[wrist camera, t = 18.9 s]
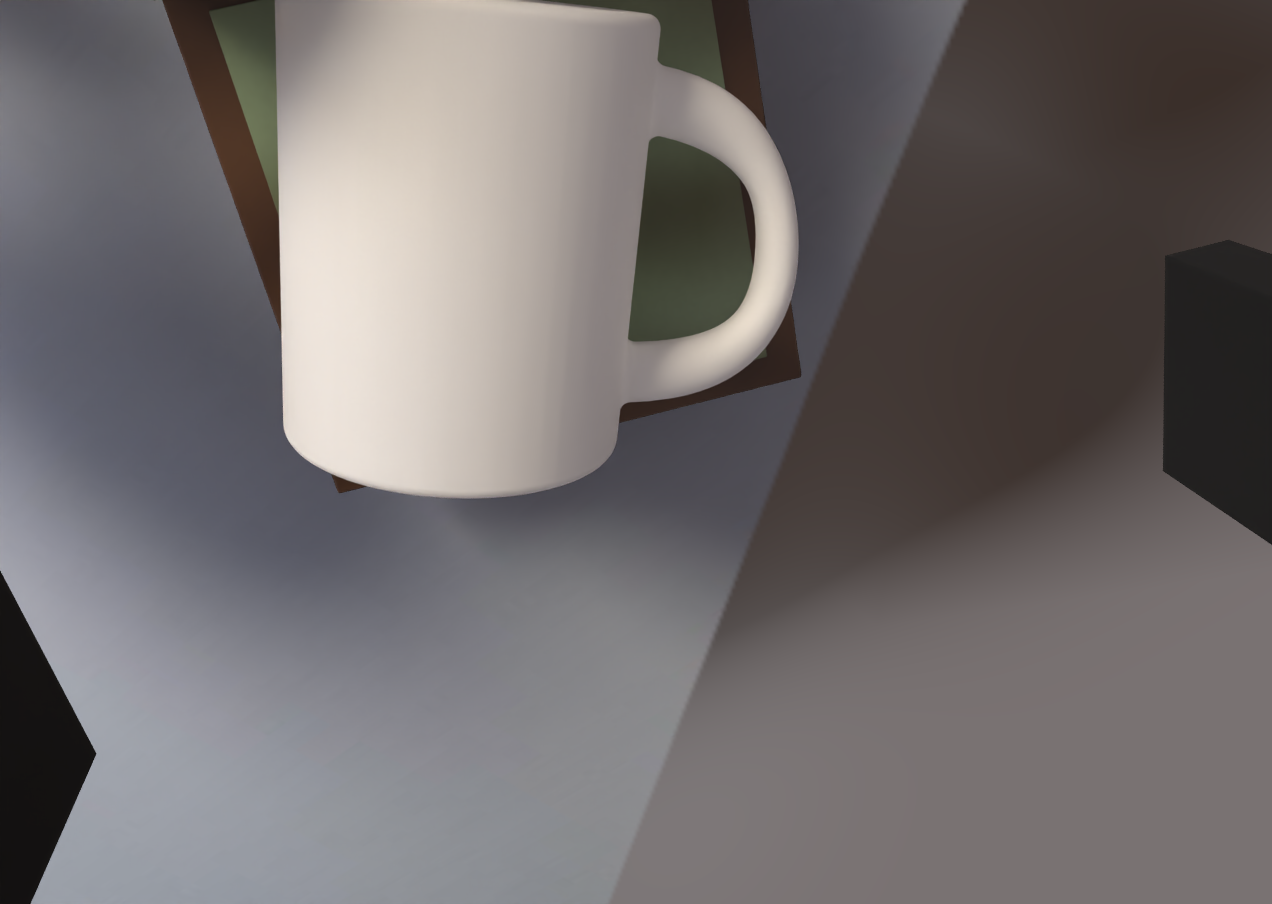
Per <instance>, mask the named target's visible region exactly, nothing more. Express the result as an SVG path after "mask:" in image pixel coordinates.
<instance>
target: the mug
mask: <svg viewBox="0 0 1272 904" xmlns="http://www.w3.org/2000/svg"><path fill="white" fill-rule="evenodd" d="M660 31H661V27H660V23H659V21H658V19H657V18H656V17H655V16H653V15H651V14H647V13H641V12H633V11H626V10H618V9H610V8H602V7H593V6H585V5H577V4H568V3H560V2H551V1H543V0H275V34H276V84H277V134H278V184H279V234H280V284H281V334H282V384H283V424H284V431H285V434H286V437H287V439H288V440H289V442H290V444H291V445H292V446H293V448H294V449H295V450H296V451H297V452H298V453H299V454H300V455H301V456H303V457H304V458H305V459H306V460H308V461H309V462H311V463H312V464H314V465H315V466H317V467H319V468H320V469H322V470H324V471H326V472H328V473H331V474H333V475H335V476H337V477H340V478H343V479H345V480H348V481H351V482H354V483H357V484H361V485H364V486H368V487H372V488H376V489H380V490H385V491H390V492H395V493H401V494H408V495H416V496H424V497H436V498H456V499H476V498H497V497H508V496H516V495H523V494H529V493H535V492H540V491H544V490H549V489H552V488H556V487H559V486H562V485H565V484H568V483H571V482H573V481H576V480H578V479H580V478H583V477H584V476H586V475H588V474H590V473H592V472H593V471H594V470H596V469H597V468H599V467H600V466H601V465H602V464H603V463H604V462H605V461H606V460H607V459H608V458H609V457H610V455H611V454H612V452H613V450H614V448H615V445H616V442H617V434H618V425H619V416H620V409H621V407H622V406H623V405H624V404H626V403H628V402H643V401H654V400H662V399H670V398H675V397H680V396H685V395H689V394H693V393H696V392H699V391H702V390H705V389H708V388H710V387H713V386H715V385H717V384H720V383H722V382H724V381H726V380H727V379H729V378H731V377H732V376H734V375H735V374H737V373H739V372H740V371H741V370H743V369H744V368H745V367H746V366H748V365H749V364H750V363H751V362H752V361H753V360H754V359H755V358H756V357H757V356H758V355H759V354H760V353H761V352H762V351H763V350H764V349H765V347H766V346H767V345H768V344H769V342H770V341H771V339H772V338H773V336H774V335H775V333H776V332H777V330H778V328H779V326H780V325H781V323H782V321H783V319H784V316H785V314H786V312H787V309H788V307H789V304H790V301H791V298H792V294H793V290H794V286H795V281H796V275H797V268H798V254H799V235H798V221H797V213H796V207H795V201H794V196H793V192H792V188H791V184H790V181H789V177H788V174H787V171H786V168H785V166H784V163H783V161H782V158H781V156H780V154H779V151H778V149H777V147H776V145H775V144H774V142H773V140H772V138H771V137H770V135H769V133H768V132H767V130H766V129H765V127H764V126H763V125H762V123H761V122H760V121H759V120H758V118H757V117H756V116H755V115H754V114H753V113H752V111H751V110H750V109H748V108H747V107H746V106H745V105H744V104H743V103H742V102H741V101H740V100H739V99H737V98H736V97H735V96H733V95H732V94H731V93H729V92H728V91H726V90H725V89H723V88H721V87H720V86H718V85H716V84H714V83H712V82H710V81H708V80H705V79H703V78H701V77H699V76H696V75H693V74H690V73H687V72H685V71H682V70H679V69H675V68H671V67H667V66H663V65H661V64H660V63H659V62H658V60H657V59H658V49H659V39H660ZM657 136H661V137H665V138H669V139H672V140H676V141H679V142H682V143H685V144H688V145H691V146H693V147H696V148H698V149H700V150H702V151H704V152H706V153H708V154H710V155H712V156H713V157H715V158H717V159H718V160H720V161H721V162H723V163H724V164H725V165H726V166H728V167H729V168H730V169H731V170H732V171H733V172H734V173H735V174H736V175H737V176H738V177H739V178H740V180H741V181H742V182H743V184H744V185H745V187H746V189H747V191H748V193H749V196H750V198H751V202H752V206H753V211H754V217H755V232H756V241H755V258H754V266H753V272H752V277H751V281H750V285H749V288H748V291H747V294H746V296H745V298H744V300H743V302H742V304H741V305H740V307H739V308H738V310H737V311H736V312H735V313H734V314H733V315H732V316H731V317H730V318H729V319H728V320H726V321H725V322H724V323H722V324H720V325H718V326H717V327H715V328H712V329H710V330H707V331H705V332H702V333H699V334H695V335H691V336H687V337H681V338H675V339H668V340H659V341H641V342H633V341H630V340H629V339H628V331H629V322H630V312H631V303H632V294H633V284H634V275H635V265H636V256H637V247H638V237H639V228H640V219H641V209H642V200H643V190H644V181H645V172H646V162H647V153H648V144H649V141H650V140H651V139H652V138H654V137H657Z"/></svg>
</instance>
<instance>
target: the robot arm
mask: <svg viewBox="0 0 1272 904" xmlns="http://www.w3.org/2000/svg"><path fill="white" fill-rule="evenodd" d="M1164 343H1165V346H1164V438H1163V445H1164V447H1163V471H1164V472H1165V473H1167V474H1169V475H1170V476H1171V477H1173V478H1174V479H1176V480H1177V481H1179V482H1180V483H1182V484H1183V485H1185V486H1186V487H1187V488H1189V489H1190V490H1192V491H1194V492H1195V493H1196V494H1198V495H1199V496H1201V497H1202V498H1204V499H1205V500H1207V501H1208V502H1210V503H1211V504H1213V505H1214V506H1215V507H1217V508H1218V509H1220V510H1222V511H1223V512H1224V513H1226V514H1228V515H1229V516H1230V517H1232V518H1233V519H1235V520H1236V521H1238V522H1239V523H1241V524H1242V525H1244V526H1245V527H1246V528H1248V529H1249V530H1251V531H1253V532H1254V533H1255V534H1257V535H1258V536H1260V537H1261V538H1263V539H1264V540H1266V541H1267V542H1269V543H1270V544H1272V254H1270V253H1266V252H1263V251H1260V250H1257V249H1254V248H1251V247H1248V246H1245V245H1242V244H1239V243H1236V242H1233V241H1230V240H1226V241H1223V242H1218V243H1214V244H1210V245H1207V246H1203V247H1198V248H1195V249H1191V250H1187V251H1183V252H1179V253H1175V254H1171V255H1167V256H1165V342H1164ZM95 756H96V752H95V750H94V748H93V746H92V744H91V742H90V741H89V739H88V737H87V735H86V733H85V731H84V729H83V727H82V725H81V723H80V722H79V720H78V718H77V716H76V714H75V712H74V710H73V708H72V706H71V704H70V703H69V701H68V699H67V697H66V695H65V693H64V691H63V689H62V687H61V685H60V683H59V682H58V680H57V678H56V676H55V674H54V672H53V670H52V668H51V666H50V664H49V663H48V661H47V659H46V657H45V655H44V653H43V651H42V649H41V647H40V645H39V644H38V642H37V640H36V638H35V636H34V634H33V632H32V630H31V628H30V626H29V624H28V623H27V621H26V619H25V617H24V615H23V613H22V611H21V609H20V607H19V605H18V604H17V602H16V600H15V598H14V596H13V594H12V592H11V590H10V588H9V586H8V584H7V583H6V581H5V579H4V577H3V575H2V573H1V571H0V904H31V901H32V899H33V897H34V895H35V892H36V890H37V888H38V885H39V883H40V881H41V879H42V876H43V874H44V872H45V869H46V867H47V865H48V863H49V860H50V858H51V856H52V854H53V851H54V849H55V847H56V844H57V842H58V840H59V838H60V835H61V833H62V831H63V829H64V826H65V824H66V822H67V819H68V817H69V815H70V813H71V810H72V808H73V806H74V804H75V801H76V799H77V797H78V794H79V792H80V790H81V788H82V785H83V783H84V781H85V779H86V776H87V774H88V772H89V769H90V767H91V765H92V763H93V760H94V758H95Z"/></svg>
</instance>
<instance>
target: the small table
mask: <svg viewBox="0 0 1272 904" xmlns="http://www.w3.org/2000/svg"><path fill="white" fill-rule="evenodd" d="M162 1H163V4H164V7H165V10H166V12H167V15H168V18H169V21H170V24H171V26H172V29H173V32H174V35H175V38H176V40H177V43H178V46H179V49H180V52H181V54H182V57H183V60H184V63H185V66H186V68H187V71H188V74H189V77H190V80H191V82H192V85H193V88H194V91H195V94H196V96H197V99H198V102H199V105H200V108H201V110H202V113H203V116H204V119H205V122H206V124H207V127H208V130H209V133H210V136H211V138H212V141H213V144H214V147H215V150H216V152H217V155H218V158H219V161H220V164H221V166H222V169H223V172H224V175H225V178H226V180H227V183H228V186H229V189H230V192H231V194H232V197H233V200H234V203H235V206H236V209H237V211H238V214H239V217H240V220H241V223H242V225H243V228H244V231H245V234H246V237H247V239H248V242H249V245H250V248H251V251H252V253H253V256H254V259H255V262H256V265H257V267H258V270H259V273H260V276H261V279H262V281H263V284H264V287H265V290H266V293H267V295H268V298H269V301H270V304H271V307H272V309H273V312H274V315H275V318H276V321H277V323H278V326H279V329H280V332H281V284H280V234H279V184H278V134H277V84H276V34H275V0H162ZM543 1H551V2H560V3H568V4H577V5H585V6H593V7H602V8H610V9H618V10H626V11H633V12H641V13H647V14H651V15H653V16H655V17H656V18H657V19H658V21H659V23H660V27H661V31H660V39H659V49H658V59H657V60H658V62H659V63H660V64H661V65H663V66H667V67H671V68H675V69H679V70H682V71H685V72H687V73H690V74H693V75H696V76H699V77H701V78H703V79H705V80H708V81H710V82H712V83H714V84H716V85H718V86H720V87H721V88H723V89H725V90H726V91H728V92H729V93H731V94H732V95H733V96H735V97H736V98H737V99H739V100H740V101H741V102H742V103H743V104H744V105H745V106H746V107H747V108H748V109H750V110H751V111H752V113H753V114H754V115H755V116H756V117H757V118H758V120H759V121H760V122H761V123H762V125H763V126H764V127H765V129H766V123H765V116H764V109H763V102H762V95H761V88H760V81H759V74H758V67H757V60H756V53H755V46H754V39H753V32H752V25H751V18H750V11H749V4H748V0H543ZM755 241H756V232H755V217H754V211H753V206H752V202H751V198H750V196H749V193H748V191H747V189H746V187H745V185H744V184H743V182H742V181H741V180H740V178H739V177H738V176H737V175H736V174H735V173H734V172H733V171H732V170H731V169H730V168H729V167H728V166H726V165H725V164H724V163H723V162H721V161H720V160H718V159H717V158H715V157H713V156H712V155H710V154H708V153H706V152H704V151H702V150H700V149H698V148H696V147H693V146H691V145H688V144H685V143H682V142H679V141H676V140H672V139H669V138H665V137H661V136H657V137H654V138H652V139H651V140H650V141H649V144H648V153H647V162H646V172H645V181H644V190H643V200H642V209H641V219H640V228H639V237H638V247H637V256H636V265H635V275H634V284H633V294H632V303H631V312H630V322H629V331H628V339H629V340H630V341H633V342H641V341H659V340H668V339H675V338H681V337H687V336H691V335H695V334H699V333H702V332H705V331H707V330H710V329H712V328H715V327H717V326H718V325H720V324H722V323H724V322H725V321H726V320H728V319H729V318H730V317H731V316H732V315H733V314H734V313H735V312H736V311H737V310H738V308H739V307H740V305H741V304H742V302H743V300H744V298H745V296H746V294H747V291H748V288H749V285H750V281H751V277H752V272H753V266H754V258H755ZM281 335H282V334H281ZM799 377H801V368H800V361H799V354H798V347H797V340H796V333H795V326H794V319H793V312H792V305H791V301H790V304H789V307H788V309H787V312H786V314H785V316H784V319H783V321H782V323H781V325H780V326H779V328H778V330H777V332H776V333H775V335H774V336H773V338H772V339H771V341H770V342H769V344H768V345H767V346H766V347H765V349H764V350H763V351H762V352H761V353H760V354H759V355H758V356H757V357H756V358H755V359H754V360H753V361H752V362H751V363H750V364H749V365H748V366H746V367H745V368H744V369H743V370H741V371H740V372H739V373H737V374H735V375H734V376H732V377H731V378H729V379H727V380H726V381H724V382H722V383H720V384H717V385H715V386H713V387H710V388H708V389H705V390H702V391H699V392H696V393H693V394H689V395H685V396H680V397H675V398H670V399H662V400H654V401H643V402H628V403H626V404H624V405H623V406H622V407H621V409H620V416H619V423H621V422H625V421H629V420H633V419H637V418H641V417H645V416H649V415H653V414H657V413H661V412H665V411H669V410H672V409H676V408H680V407H684V406H688V405H692V404H696V403H700V402H704V401H708V400H712V399H716V398H720V397H724V396H728V395H732V394H736V393H740V392H744V391H748V390H752V389H756V388H760V387H764V386H768V385H772V384H776V383H779V382H783V381H787V380H791V379H795V378H799ZM331 475H332V478H333V480H334V483H335V486H336V489H337V491H338V493H343V492H347V491H351V490H355V489H359V488H363V487H367V486H364V485H361V484H357V483H354V482H351V481H348V480H345V479H343V478H340V477H337V476H335V475H333V474H331Z"/></svg>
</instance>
